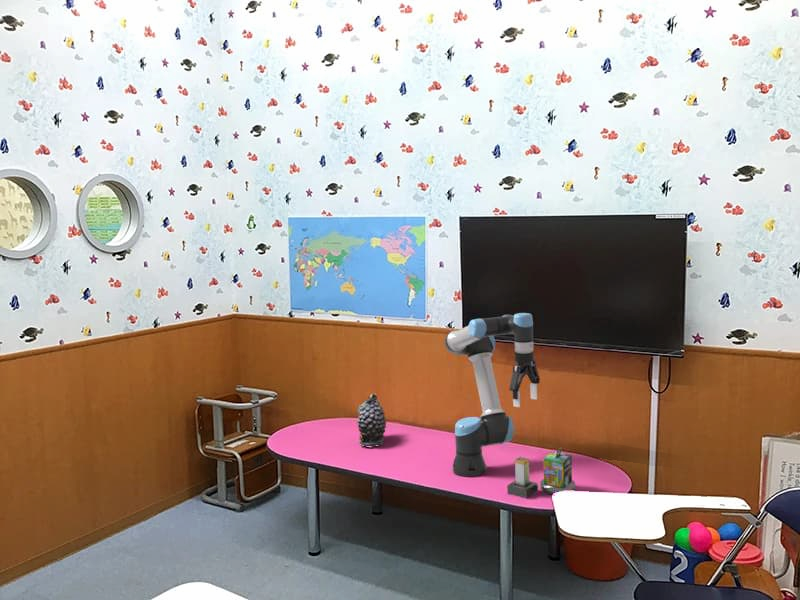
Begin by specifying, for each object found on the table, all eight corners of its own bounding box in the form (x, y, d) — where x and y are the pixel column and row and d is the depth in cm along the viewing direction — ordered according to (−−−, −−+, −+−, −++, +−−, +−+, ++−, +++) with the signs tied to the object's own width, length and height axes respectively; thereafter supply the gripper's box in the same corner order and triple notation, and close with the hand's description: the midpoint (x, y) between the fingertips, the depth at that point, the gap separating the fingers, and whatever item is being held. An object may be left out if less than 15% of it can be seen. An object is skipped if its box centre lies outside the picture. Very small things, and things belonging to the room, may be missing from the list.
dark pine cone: (359, 437, 367) (357, 390, 364) (388, 436, 367) (385, 389, 364) (355, 450, 347) (353, 401, 344) (385, 449, 346) (383, 400, 343)
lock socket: (507, 493, 284) (507, 485, 284) (519, 486, 291) (518, 478, 290) (526, 498, 278) (526, 490, 278) (537, 491, 285) (537, 482, 285)
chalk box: (551, 477, 292) (551, 443, 291) (572, 481, 287) (572, 446, 285) (543, 484, 285) (542, 450, 283) (564, 489, 280) (563, 453, 278)
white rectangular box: (515, 492, 284) (514, 459, 283) (520, 489, 288) (519, 456, 286) (524, 495, 281) (523, 462, 280) (530, 491, 285) (529, 458, 283)
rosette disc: (534, 490, 286) (534, 484, 285) (550, 480, 296) (550, 474, 296) (565, 498, 276) (565, 492, 276) (581, 487, 287) (581, 481, 287)
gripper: (516, 358, 269) (517, 411, 271) (547, 347, 288) (548, 397, 290) (499, 356, 274) (501, 408, 276) (531, 345, 292) (532, 394, 295)
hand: (525, 402), depth 283 cm, fingers open, 13 cm apart
